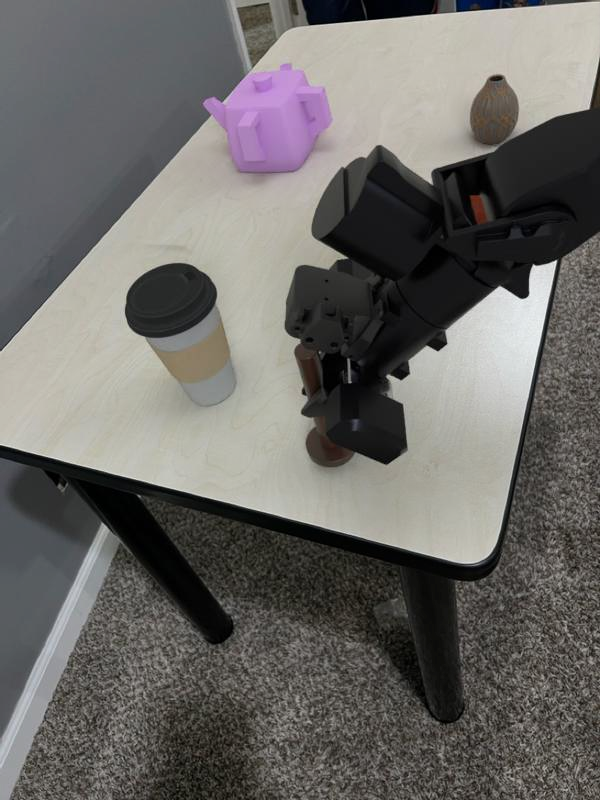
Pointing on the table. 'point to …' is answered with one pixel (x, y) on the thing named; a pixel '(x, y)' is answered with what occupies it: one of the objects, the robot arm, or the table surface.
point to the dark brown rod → (317, 440)
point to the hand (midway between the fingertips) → (305, 404)
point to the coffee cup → (184, 329)
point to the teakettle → (272, 120)
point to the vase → (494, 111)
